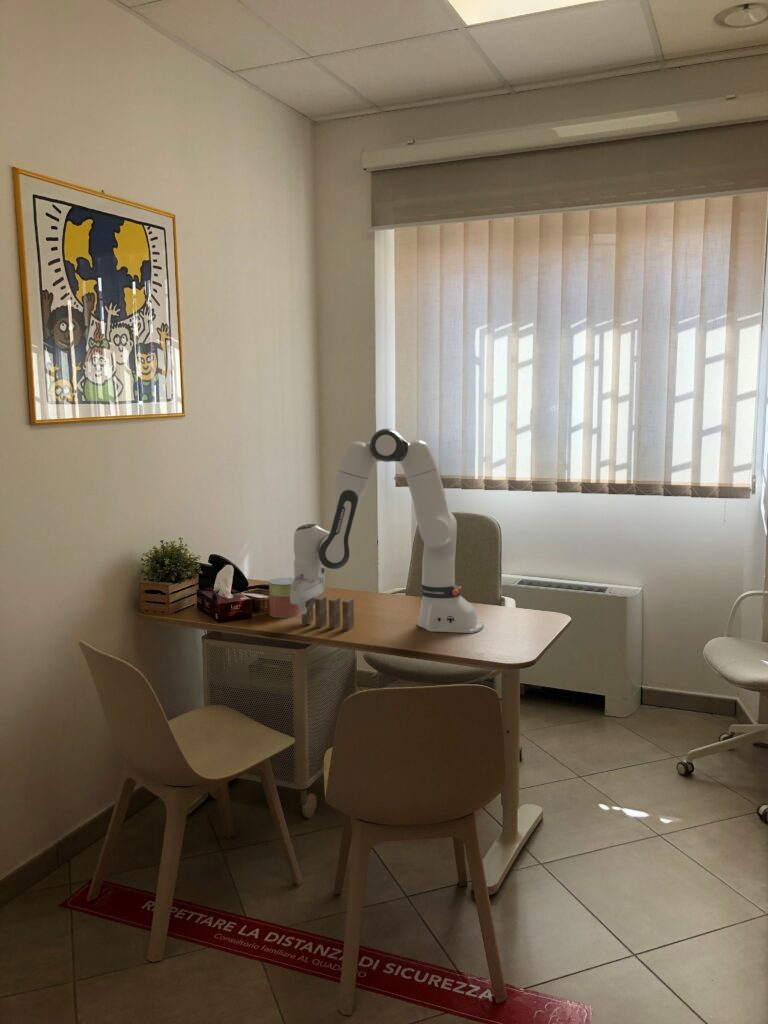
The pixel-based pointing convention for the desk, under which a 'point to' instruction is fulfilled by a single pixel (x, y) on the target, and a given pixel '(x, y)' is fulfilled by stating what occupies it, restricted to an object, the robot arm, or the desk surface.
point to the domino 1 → (308, 612)
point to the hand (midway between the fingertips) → (307, 611)
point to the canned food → (282, 599)
